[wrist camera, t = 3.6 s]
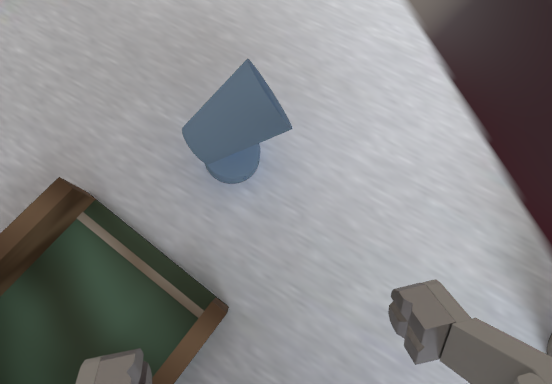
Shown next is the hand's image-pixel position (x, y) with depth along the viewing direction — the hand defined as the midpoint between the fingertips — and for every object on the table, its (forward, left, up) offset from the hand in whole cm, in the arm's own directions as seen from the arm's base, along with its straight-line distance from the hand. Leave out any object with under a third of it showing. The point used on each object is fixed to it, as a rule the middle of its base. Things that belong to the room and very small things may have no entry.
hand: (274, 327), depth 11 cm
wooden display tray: (-3, +12, -15) cm, 19 cm away
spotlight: (+11, +3, -15) cm, 19 cm away
